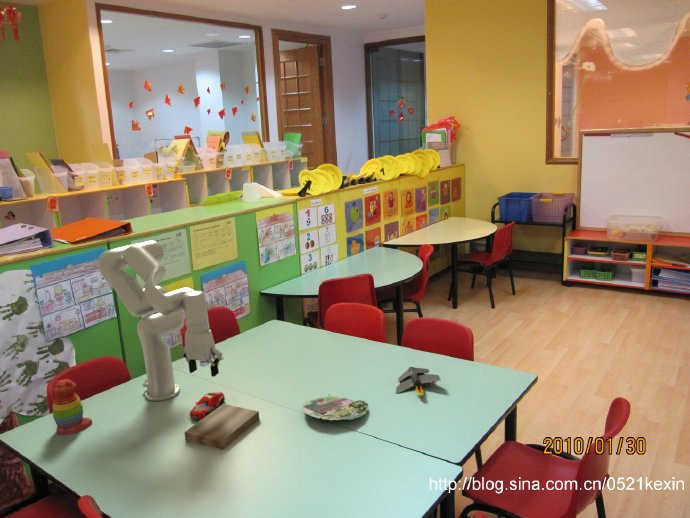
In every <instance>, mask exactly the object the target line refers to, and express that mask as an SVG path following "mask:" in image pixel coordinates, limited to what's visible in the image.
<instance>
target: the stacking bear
mask: <svg viewBox="0 0 690 518" xmlns="http://www.w3.org/2000/svg"><path fill="white" fill-rule="evenodd" d="M76 389H77V384H76V383H75V382H74V381H72V380H71V379H67V378H65V379H64V378H63V379H60V380H58V379H56V380H54V381H53V393H54V395H55V398H54V400H53V404H52V417H53V420H54V421H55V424H56V433H57V434H59V435H63V436H64V435H70V434H71V435H72V434H74V433H78V432H80V431H82V430H85V429H86V428H87V427H90V425H92V424H93V420H92V418H89V417H83V415H84V406H83V402H82V401H81V398H80V396H79V395H78V393H76Z"/></svg>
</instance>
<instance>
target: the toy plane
mask: <svg viewBox="0 0 690 518" xmlns="http://www.w3.org/2000/svg"><path fill="white" fill-rule="evenodd" d="M429 373H430V369H428V368H422V367H414V366H409V367H408V368H407V370H406V371H404V372H403V373H402V374H401V375H400V376H398V380H397V381H398V382H400V383H399V384H398V385H397V386H396V388H395V394H396V395H397V394H402V393H404V392H407V391H409V390H413V389H415V391H416V394H417V395H418V396H419V397H422V396H424V390H423V386H426V385H429V384H432V383H436V382H439V381H442V380H441V378H440V376H439V374H431V373H430V374H429Z"/></svg>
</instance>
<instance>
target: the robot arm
mask: <svg viewBox="0 0 690 518" xmlns="http://www.w3.org/2000/svg"><path fill="white" fill-rule="evenodd" d="M164 257H165V249H164V247H162V245H161V244H160V243H159V242H158V241H156V240H147V241H146V240H145V241H143V242H142V241H141V242H137V243H132V244H128V245H123V246H119V247H115V248H111V249H108V250H105V251H103V252H102V253H101V254H100V255H99V257H98V260H97V261H98V262H97V265H98V270H99V272H100V274H101V276H102V277H103V279H104V281H106V282H107V283H108V284H109V286H110V287H112V288H113V290H114V291H115V292H116V294H117V295H118V297H119V299H120V300H121V301H122V303H123V305H124V307H125V308H126V309H127V311H128V312H129V313H130V315H132V316H133V317H141V318H140V319H139V320H138V322H137V324H136V331H137V335H138V337H139V341H140V343H141V348H142V353H143V359H144V366H145V374H146V378H145V379H144V381H143V383H142V387H144V388H146V391H145V394H144V397H145V399H147V400H148V401H153V402H154V401H155V402H160V401H165V400H170V399H171V398H174V397H176V396H177V395H178V394H179V393H180V392H181V391H180V389H181V388H180V386H179V385H178V384H176V383H175V378H174V377H175V376H174V375H175V374H174V368H173V363H172V362H173V361H172V355H171V348H170V346H169V344H168V343H167V342H166V341H165V340H164V338H165V337H168V335H172V334H174V333H177V332H178V331H180V330H182V328H183V327H184V326H185V327H186V331H185V334H184V347H181V349H180V351H181V353H182V354H183V357H184V358H185V360H186V362H187V363H188V369H189V371H188V372H189V373H190V374H192V373H194V372H195V371H197V370H198V367H197V361H201V362H208V361H209V364H210V366H209V367H210V375H211V377H212V378H214V377H215V376H217V375H219V372H220V371H219V365H218V363H219V364H220V361H222V360H221V357H223V352H221V351H220V350H219V349H217V348H216V344H215V339H214V336H213V333H212V330H211V329H210V324H209V323H210V322H209V321H210V320H209V314H208V306H207V300H206V294H205V293H204V291H201V290H195V289H193V288H191V287H187V286H186V287H181V288H177V289H174V290H171V291H169V292H168V291H167V290H166V289H165V288H164V287H162V286H161V285H158V284H160V282H162V280H163V278H165V275H166V271H167V269H166V268H165V265H163V264H162V263H161V261H162V260H163V258H164ZM126 269H132V271H133V272H134V273H135V274H136V275H137V276H138V277H139V278H141V279H142V280H143V281H144V287H143V286H141V284H140V283H139V281H138V280H137V278H136V277H134V276H133V275H131V274H130V273H128V272H125V271H124V270H126ZM182 311H183V312H184V316H183V314H182ZM145 315H146V316H145ZM184 318H185V319H184Z"/></svg>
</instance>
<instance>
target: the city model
mask: <svg viewBox="0 0 690 518" xmlns="http://www.w3.org/2000/svg"><path fill="white" fill-rule="evenodd" d="M368 406H369V404H368V402H366V401H365V400H361V399H360V400H354V399H350V398H349V399H348V398H346V397H339V396H333V395H329V396H321V397H318V398H314V399H310V400H306V401H305V402H304V403H302V407H301V410H302V411H303V413H305V414H306V415H308V416H310V417H312V418H313V417H314V418H316V419H318V421H319V423H320V422H321V421H322V423H323V424H325V423H327V422H328V420H329V421H333V420H334V421H335V420H336V421H339V420H344V421H345V420H348V421H351V420H354V419H357V418H360V417H364V415H366V414H367V413H368V411H369V407H368Z"/></svg>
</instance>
